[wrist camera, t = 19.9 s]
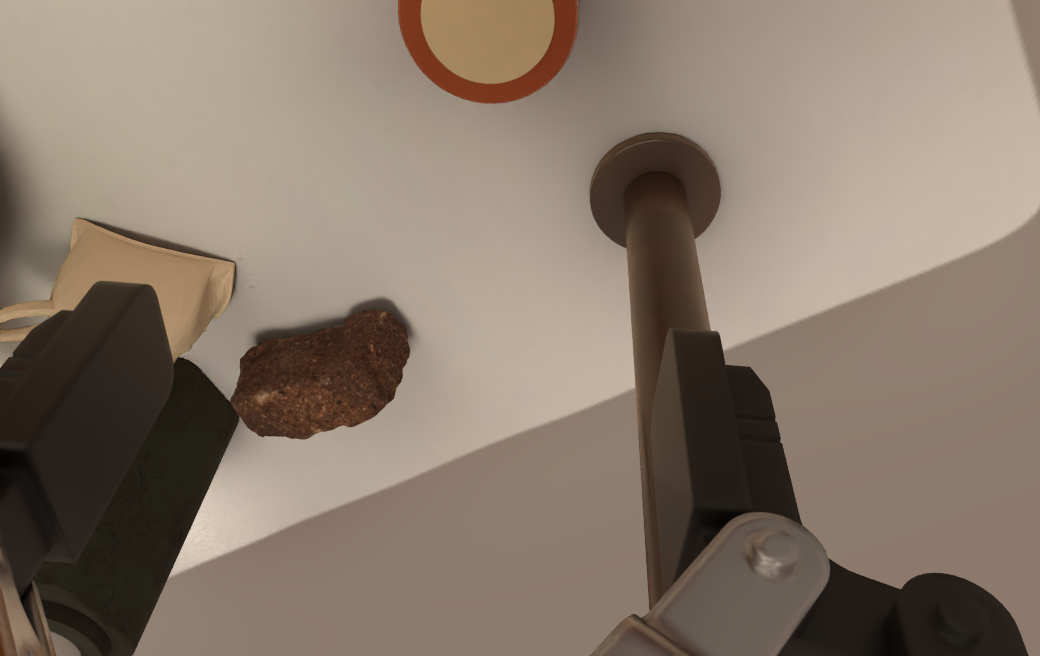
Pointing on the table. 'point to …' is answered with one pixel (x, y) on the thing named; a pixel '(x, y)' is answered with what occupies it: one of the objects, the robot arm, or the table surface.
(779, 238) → the table surface
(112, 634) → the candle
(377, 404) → the stone
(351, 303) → the table surface
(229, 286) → the decorative ornament
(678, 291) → the walnut post
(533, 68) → the terracotta bowl
